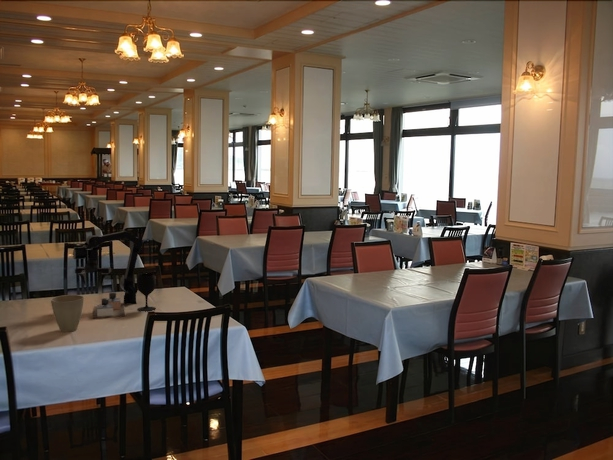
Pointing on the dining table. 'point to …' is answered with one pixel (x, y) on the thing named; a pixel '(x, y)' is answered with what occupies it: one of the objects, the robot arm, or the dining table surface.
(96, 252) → the robot arm
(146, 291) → the wine glass
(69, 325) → the plant pot
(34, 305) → the dining table surface
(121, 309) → the walnut board
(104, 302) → the black plunger
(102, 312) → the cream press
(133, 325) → the dining table surface
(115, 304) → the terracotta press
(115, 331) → the dining table surface
